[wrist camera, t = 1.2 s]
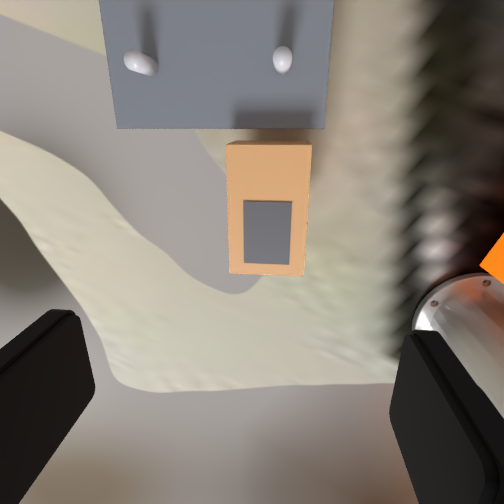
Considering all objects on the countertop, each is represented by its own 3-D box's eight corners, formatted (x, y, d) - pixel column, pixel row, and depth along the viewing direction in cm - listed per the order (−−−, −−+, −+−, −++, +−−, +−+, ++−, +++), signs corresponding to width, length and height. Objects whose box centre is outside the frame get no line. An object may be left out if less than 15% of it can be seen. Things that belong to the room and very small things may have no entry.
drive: (301, 253, 31) (303, 276, 26) (237, 250, 31) (229, 273, 27) (307, 140, 27) (312, 145, 23) (235, 140, 28) (225, 144, 23)
